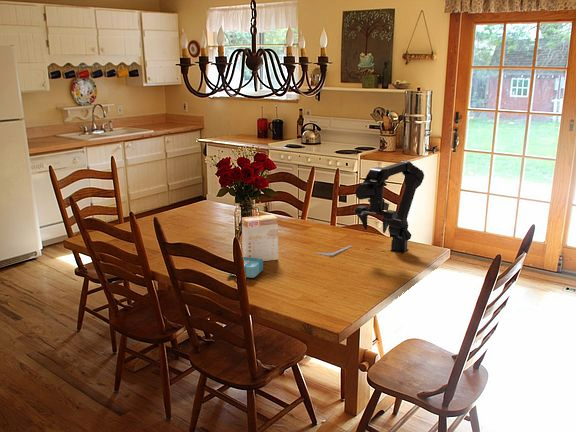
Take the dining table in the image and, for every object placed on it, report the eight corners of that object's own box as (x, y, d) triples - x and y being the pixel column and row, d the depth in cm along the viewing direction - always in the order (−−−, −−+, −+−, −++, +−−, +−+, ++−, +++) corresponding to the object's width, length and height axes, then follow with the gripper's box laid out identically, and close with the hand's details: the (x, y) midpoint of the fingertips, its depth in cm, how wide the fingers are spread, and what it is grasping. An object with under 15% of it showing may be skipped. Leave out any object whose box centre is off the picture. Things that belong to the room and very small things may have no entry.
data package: (253, 267, 216) (226, 264, 219) (254, 278, 217) (226, 275, 220) (264, 258, 227) (237, 256, 230) (264, 268, 228) (238, 266, 231)
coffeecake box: (273, 255, 246) (273, 214, 242) (278, 259, 240) (278, 217, 235) (242, 258, 241) (241, 216, 236) (246, 263, 234) (245, 220, 230)
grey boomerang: (351, 248, 257) (352, 246, 257) (331, 257, 243) (331, 255, 243) (326, 242, 266) (326, 241, 266) (305, 251, 252) (305, 249, 252)
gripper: (404, 196, 235) (402, 230, 238) (366, 191, 246) (365, 224, 250) (392, 200, 226) (390, 236, 230) (354, 195, 237) (353, 229, 241)
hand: (374, 231), depth 238 cm, fingers open, 9 cm apart
